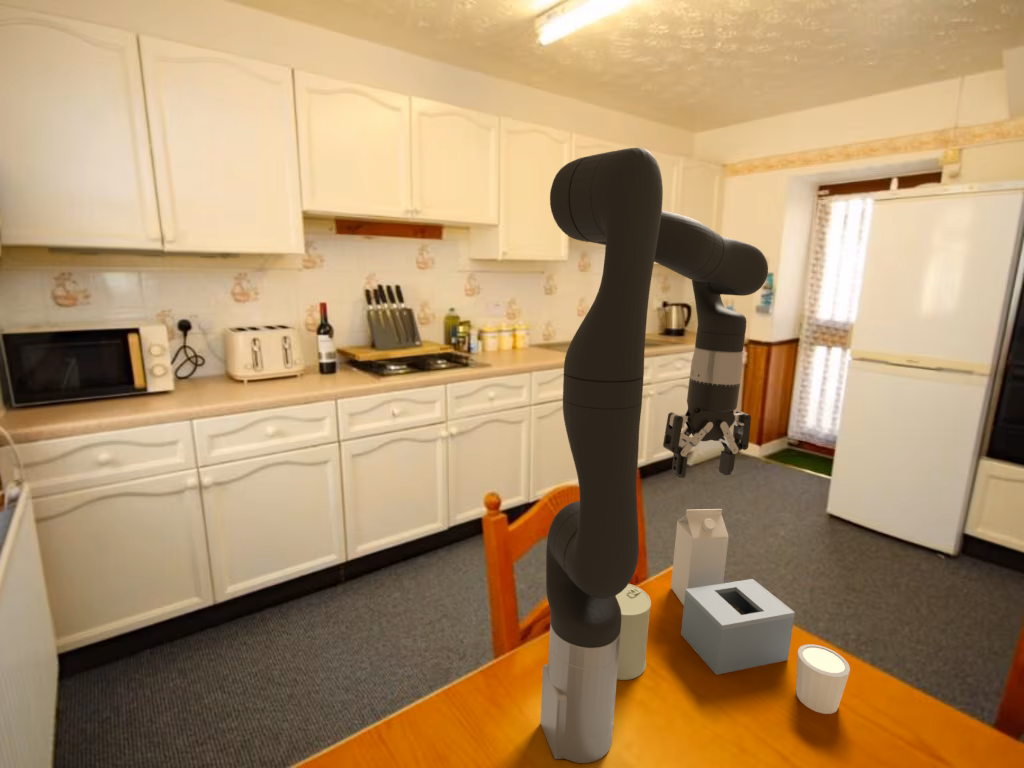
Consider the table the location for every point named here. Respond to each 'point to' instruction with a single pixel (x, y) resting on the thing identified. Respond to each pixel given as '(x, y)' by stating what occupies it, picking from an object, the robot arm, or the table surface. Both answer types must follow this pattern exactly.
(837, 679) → the white cup
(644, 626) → the can
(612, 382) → the robot arm
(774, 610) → the coin box
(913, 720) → the table surface
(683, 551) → the milk carton
